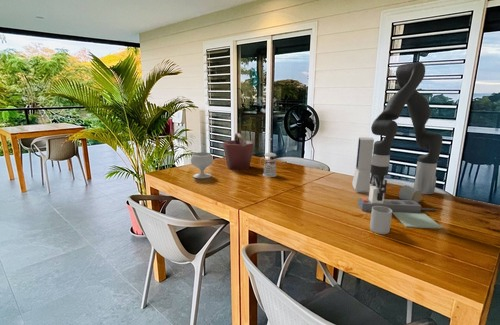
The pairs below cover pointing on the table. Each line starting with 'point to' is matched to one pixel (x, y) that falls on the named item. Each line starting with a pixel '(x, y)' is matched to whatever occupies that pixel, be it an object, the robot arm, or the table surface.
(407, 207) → the power strip
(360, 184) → the electronic device
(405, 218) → the rubber mat
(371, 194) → the block
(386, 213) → the cup
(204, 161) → the chalice
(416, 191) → the ceramic mug
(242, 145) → the bucket
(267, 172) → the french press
